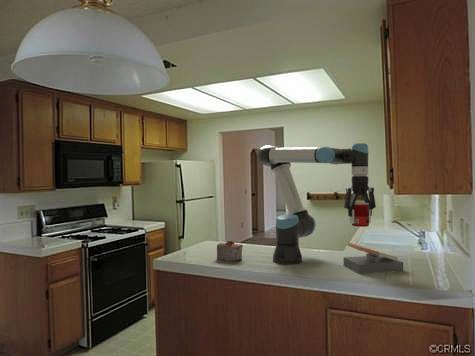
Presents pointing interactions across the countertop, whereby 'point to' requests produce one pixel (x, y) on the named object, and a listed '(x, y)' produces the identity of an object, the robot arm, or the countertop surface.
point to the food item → (229, 251)
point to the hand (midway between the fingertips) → (360, 223)
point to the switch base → (372, 264)
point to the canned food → (361, 214)
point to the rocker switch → (372, 251)
